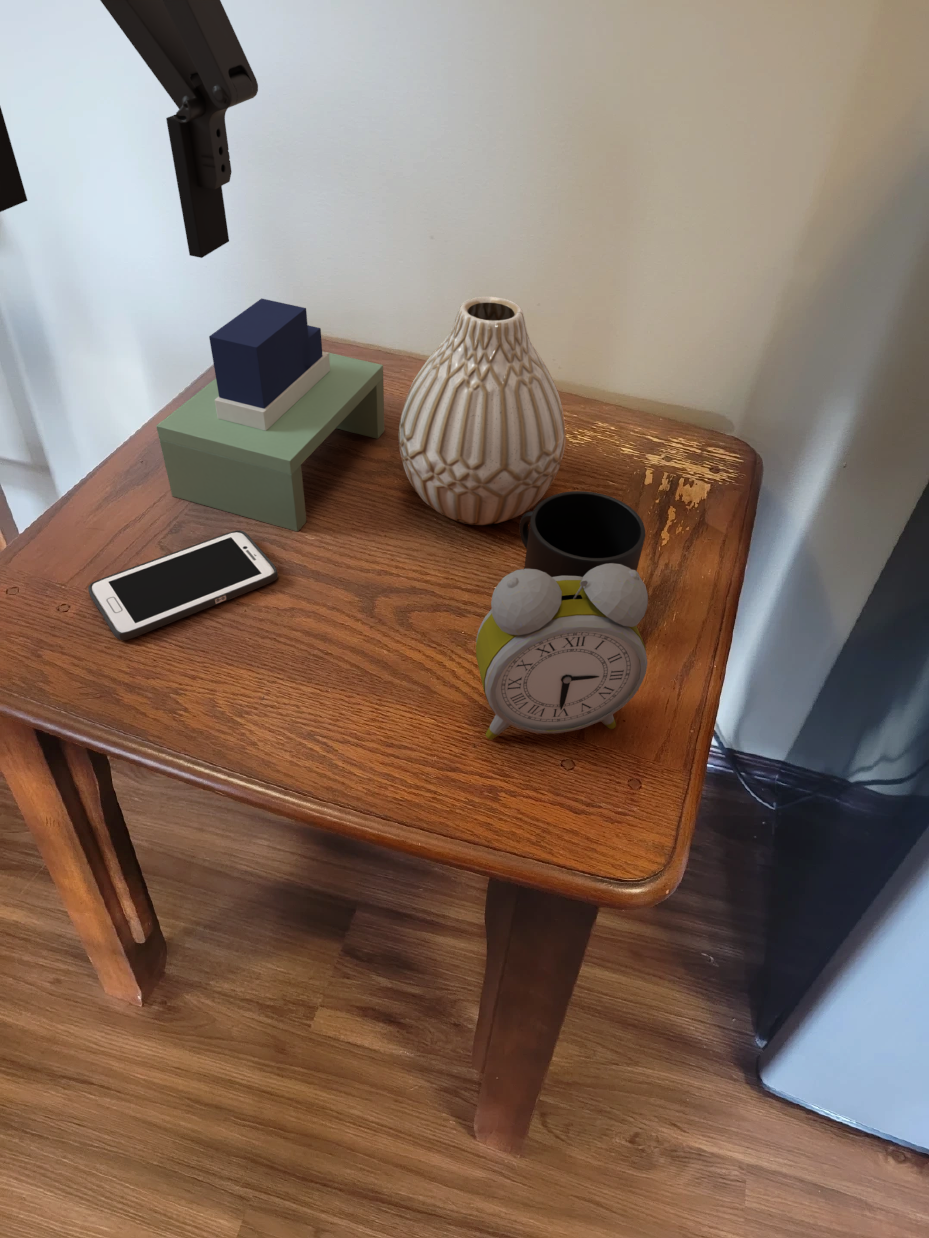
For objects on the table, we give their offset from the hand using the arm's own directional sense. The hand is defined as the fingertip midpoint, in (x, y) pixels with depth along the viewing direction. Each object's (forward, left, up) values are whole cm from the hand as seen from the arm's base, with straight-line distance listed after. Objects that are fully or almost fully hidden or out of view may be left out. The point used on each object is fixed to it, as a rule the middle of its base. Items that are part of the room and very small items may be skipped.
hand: (104, 227), depth 48 cm
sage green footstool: (-15, +22, -33) cm, 42 cm away
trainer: (-15, +22, -25) cm, 36 cm away
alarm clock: (+26, +13, -33) cm, 44 cm away
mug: (+19, +25, -33) cm, 45 cm away
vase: (+4, +31, -33) cm, 45 cm away
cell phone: (-6, +3, -33) cm, 33 cm away
